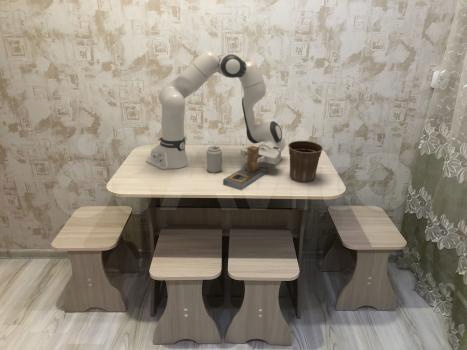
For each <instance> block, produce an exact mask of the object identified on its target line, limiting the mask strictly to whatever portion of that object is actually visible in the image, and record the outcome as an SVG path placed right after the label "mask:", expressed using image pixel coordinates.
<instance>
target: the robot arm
mask: <svg viewBox="0 0 467 350" xmlns="http://www.w3.org/2000/svg"><path fill="white" fill-rule="evenodd" d="M216 73H219V74H220V75H222V76H223V77H225V78H230V79H232V78H233V79H235V78H238V79H239V81H240V83H241V88H242V90H243V96H242V98H241V106H242V107H241V108H242V113H243V118H244V124H245V128H246V129H245V130H246V137H247V140H248V141H249V142H251V143H252V144H253V145H255V144H260V143H261V144H260V145H258V146H257V147H259V156H258V158H256V159H255V160H256V161H255V162H258V164H259V163H262V162H263V163H268V164H271V165H277V164H278V163H280V162H281V157H282V152H283V151H284V150H285V148H286V140H285V138H284V137H283V132H282V128H281V126H280V125H279V124H278V123H277V122H276V121H274V120H272V121H267V122H263V123H256V118H255V113H254V106H255V105H256V104H257V103H258V102H259V101H261V100H262V99H263V98H264V96H265V95H266V92H267V88H266V84H265V80H264V78H263V75H262V73H261V70H260V68H259V66H258V65H257V63H256V62H254V61H251V60H248V61H244V60H242V59H241V57H239V56H238V55H236V54H234V53H224V54H220V55H217V54H216V53H215V52H213V51H210V50H206V51H204V52H203V53H200V55H198V56H197V57H196V58H195V59H194V60H193V61H191V63H189V65H188V66H187V67H185V68H184V69H183V71H182V72H180V74H179V75H177V76H176V77H175V78H173V79H172V80H171V81H170V82H169V83H167V84H166V85H165V86H164V87H162V88H161V89H160V91H159V93H158V100H159V103H160V105H161V137H160V138H158V142H159V144H158V145H157V146H155V147H154V148H153V149H152V150H151V152H150V156H149V157H148V158H147V159H145V160H146V163H149V164H150V165H153V167H157V168H159V169H160V170H171V169H181V168H184V167H187V166H188V165H189V160H188V158H187V157H188V156H187V151H186V137H185V125H184V124H185V114H186V113H185V112H186V98H187V97H190V96H191V94H193V93H195V92H197V91H198V90H199V89H201V87H202V86H203V85H204V84H205V83H207V81H208V80H209V79H210V78H211V77H212V76H213V75H214V74H216ZM250 146H251V145H250ZM250 146H245V147H242V148H240V156H241V157H244V158H245V160H246V161H247V148H248V147H250Z"/></svg>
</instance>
